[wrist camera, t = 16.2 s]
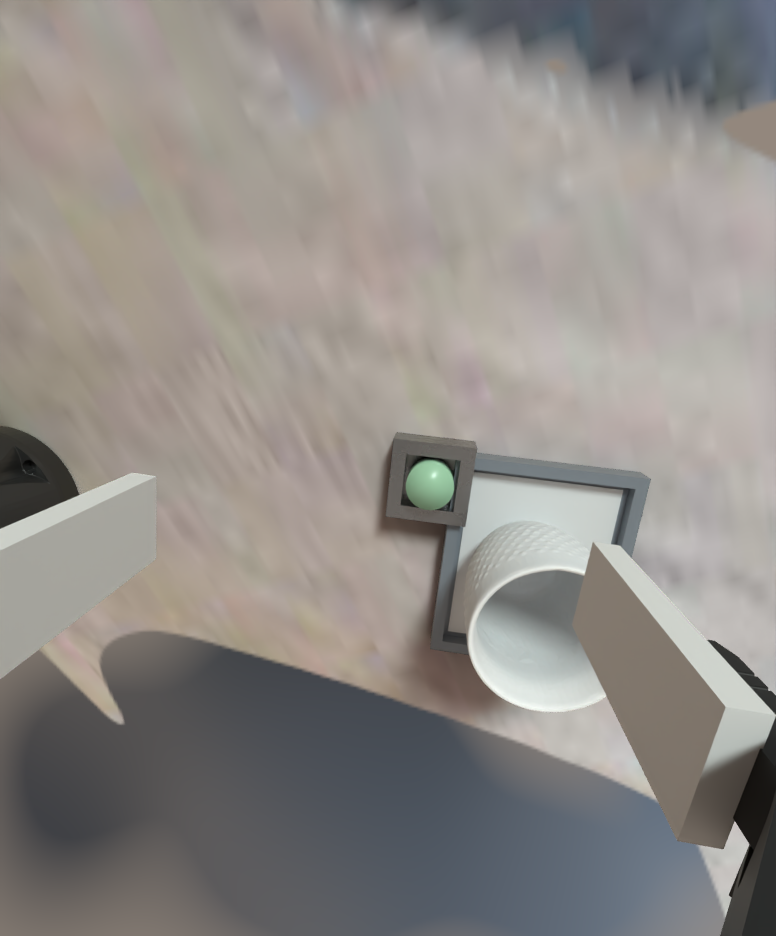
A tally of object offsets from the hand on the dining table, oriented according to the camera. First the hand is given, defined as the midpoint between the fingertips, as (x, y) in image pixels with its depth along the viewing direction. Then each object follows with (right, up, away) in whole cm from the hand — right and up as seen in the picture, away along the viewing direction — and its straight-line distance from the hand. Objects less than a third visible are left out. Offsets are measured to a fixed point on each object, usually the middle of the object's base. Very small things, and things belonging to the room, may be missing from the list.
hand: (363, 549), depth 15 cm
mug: (+14, -7, +30) cm, 34 cm away
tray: (+14, -6, +31) cm, 34 cm away
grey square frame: (+5, +2, +30) cm, 30 cm away
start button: (+4, +1, +28) cm, 28 cm away
